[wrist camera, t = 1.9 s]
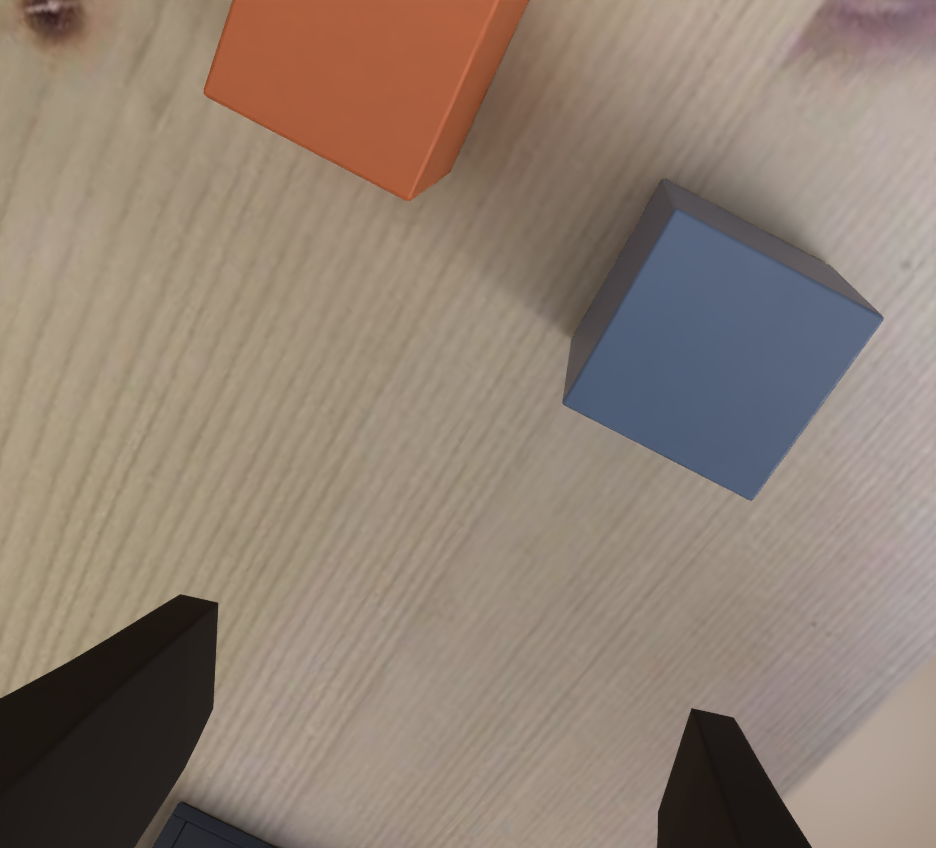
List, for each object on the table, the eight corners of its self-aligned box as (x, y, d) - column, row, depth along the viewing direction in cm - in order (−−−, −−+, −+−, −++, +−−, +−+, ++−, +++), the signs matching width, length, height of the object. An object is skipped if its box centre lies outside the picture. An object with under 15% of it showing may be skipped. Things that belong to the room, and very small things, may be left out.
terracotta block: (535, -14, 17) (514, -32, 14) (448, 175, 19) (409, 203, 15) (351, -112, 17) (281, -158, 14) (279, 87, 19) (199, 95, 15)
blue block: (832, 266, 19) (886, 318, 15) (727, 422, 20) (752, 503, 16) (662, 176, 18) (675, 206, 15) (570, 341, 20) (560, 404, 16)
